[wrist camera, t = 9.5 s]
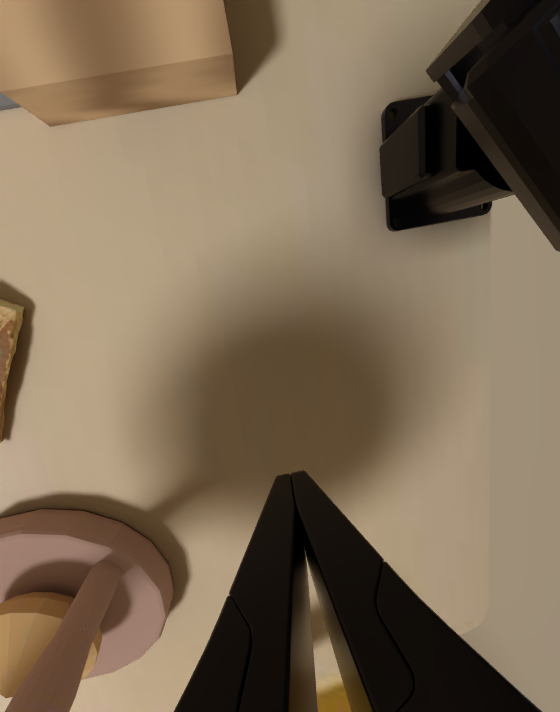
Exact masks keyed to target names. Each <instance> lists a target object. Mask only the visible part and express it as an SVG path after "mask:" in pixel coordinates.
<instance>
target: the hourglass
mask: <svg viewBox="0 0 560 712" xmlns="http://www.w3.org/2000/svg"><path fill="white" fill-rule="evenodd" d="M173 593H174V588H173V584H172V579H171V574H170V569H169V565H168V564H167V562H166V561H165V560H164V558H163V557H162V556H161V554H160V553H159V552H158V550H157V549H156V548H155V546H154V545H153V544H152V542H151V541H150V540H148V539H146V538H145V537H143V536H142V535H140V534H139V533H137V532H136V531H134V530H133V529H131V528H129V527H128V526H126V525H125V524H123V523H122V522H119V521H115V520H112V519H109V518H106V517H102V516H99V515H96V514H93V513H89V512H86V511H77V510H54V509H40V510H35V511H31V512H27V513H22V514H18V515H13V516H9V517H4V518H1V519H0V694H1V695H2V696H4V697H5V698H9V697H13V698H12V700H11V702H10V703H9V705H8V707H7V709H6V711H5V712H69V711H70V708H71V706H72V704H73V701H74V699H75V697H76V693H77V690H78V687H79V684H80V681H81V680H83V679H87V678H91V677H95V676H100V675H104V674H108V673H112V672H115V671H116V670H118V669H120V668H122V667H124V666H126V665H128V664H130V663H132V662H134V661H135V660H137V659H139V658H141V657H142V656H143V655H144V654H145V653H146V651H147V650H148V649H149V648H150V647H151V646H152V645H153V644H154V643H155V642H156V641H157V640H158V639H159V638H160V637H161V634H162V631H163V628H164V625H165V622H166V619H167V616H168V612H169V609H170V605H171V601H172V597H173Z"/></svg>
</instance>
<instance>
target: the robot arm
mask: <svg viewBox="0 0 560 712" xmlns="http://www.w3.org/2000/svg"><path fill="white" fill-rule="evenodd" d="M426 72H427V74H428V75H429V76H430V78H431V79H432V80H433V82H435V81H438V83H439V84H440V85H441V87H442V88H441V89H440V90H439V91H438V92H437V93H436V94H434V95H432V96H426V97H421V98H415V99H409V100H403V101H398V102H392V103H390V104H389V105H388V106H387V107H386V108H385V109H384V111H383V113H382V117H381V122H382V141H383V144H382V145H381V147H380V166H381V184H382V195H383V196H384V197H385V200H386V219H387V227H388V229H389V230H390V231H393V232H395V231H401V230H406V229H411V228H417V227H422V226H427V225H433V224H438V223H444V222H449V221H454V220H460V219H465V218H470V217H476V216H481V215H484V214H487V213H488V212H489V211H490V209H491V206H492V201H494V200H497V199H500V198H504V197H508V196H511V195H516V197H517V198H518V199H519V200H520V202H521V203H522V205H523V206H524V207H525V209H526V210H527V212H528V213H529V214H530V216H531V217H532V218H533V220H534V221H535V222H536V224H537V225H538V226H539V228H540V229H541V230H542V232H543V233H544V235H545V236H546V237H547V239H548V240H549V241H550V243H551V244H552V246H553V247H554V248H555V250H557V251H559V252H560V0H481V1H480V3H479V4H478V5H477V6H476V8H475V9H474V10H473V11H472V13H471V14H470V15H469V16H468V18H467V19H466V20H465V21H464V23H463V24H462V25H461V27H460V28H459V29H458V30H457V32H456V33H455V34H454V35H453V37H452V38H451V39H450V40H449V42H448V43H447V44H446V45H445V47H444V48H443V49H442V51H441V52H440V53H439V54H438V56H437V57H436V58H435V59H434V61H433V62H432V63H431V64H430V66H429V67H428V68H427V70H426ZM389 112H392V113H393V114H394V119H391V118H390V117H389ZM481 204H483V209H482V210H481V209H480V205H481ZM395 219H397V220H398V222H399V223H398V225H397V226H395V225H394V220H395ZM304 547H305V548H304ZM305 552H306V554H305ZM306 557H307V561H308V565H309V569H310V572H311V576H312V579H313V582H314V586H315V589H316V593H317V596H318V599H319V603H320V606H321V609H322V613H323V616H324V620H325V623H326V626H327V630H328V633H329V636H330V640H331V643H332V647H333V650H334V653H335V657H336V660H337V663H338V667H339V670H340V674H341V677H342V680H343V684H344V687H345V690H346V694H347V697H348V701H349V704H350V707H351V711H352V712H542V711H541V710H540V709H538V708H537V707H536V706H535V705H534V704H533V703H532V702H531V701H530V700H529V699H527V698H526V697H525V696H524V695H523V694H522V693H521V692H520V691H519V690H518V689H516V688H515V687H514V686H513V685H512V684H511V683H510V682H509V681H508V680H507V679H506V678H505V677H503V676H502V675H501V674H500V673H499V672H498V671H497V670H496V669H495V668H494V667H493V666H492V665H490V664H489V663H488V662H487V661H486V660H485V659H484V658H483V657H482V656H481V655H480V654H479V653H477V652H476V651H475V650H474V649H473V648H472V647H471V646H470V645H469V644H468V643H467V642H466V641H464V640H463V639H462V638H461V637H460V636H459V635H458V634H457V633H456V632H455V631H454V630H453V629H452V628H450V627H449V626H448V625H447V624H446V623H445V622H444V621H443V620H442V619H441V618H440V617H439V616H438V615H437V614H436V613H435V612H434V611H433V610H432V609H431V608H430V607H428V606H427V605H426V604H425V603H424V602H423V601H422V600H421V599H420V598H419V597H418V596H417V595H416V594H415V592H414V591H413V590H412V589H411V588H410V587H409V586H408V585H407V584H406V583H405V582H404V581H403V580H402V579H401V578H400V577H399V575H398V574H397V573H396V572H395V571H394V570H393V569H392V568H391V567H390V565H389V564H388V563H387V562H384V559H383V558H382V557H381V556H380V554H379V553H378V552H377V551H376V550H375V549H374V548H373V547H372V545H371V544H370V543H369V542H368V541H367V540H366V539H365V538H364V537H363V535H362V534H361V533H360V532H359V531H358V530H357V529H356V528H355V526H354V525H353V524H352V523H351V522H350V521H349V520H348V519H347V517H346V516H345V515H344V514H343V513H342V512H341V511H340V510H339V508H338V507H337V506H336V505H335V504H334V503H333V502H332V501H331V500H330V498H329V497H328V496H327V495H326V494H325V493H324V492H323V491H322V489H321V488H320V487H319V486H318V485H317V484H316V483H315V482H314V480H313V479H312V478H311V477H310V476H309V475H308V474H307V473H306V472H305V471H303V470H302V471H297V472H293V473H291V475H290V474H283V475H278V476H277V477H276V478H275V480H274V483H273V485H272V488H271V490H270V493H269V495H268V498H267V500H266V503H265V505H264V508H263V510H262V512H261V515H260V517H259V520H258V522H257V525H256V527H255V530H254V532H253V535H252V537H251V540H250V542H249V545H248V547H247V550H246V552H245V554H244V557H243V559H242V562H241V564H240V567H239V569H238V572H237V574H236V577H235V579H234V582H233V584H232V587H231V589H230V591H229V595H230V596H228V597H227V598H226V601H225V603H224V606H223V608H222V611H221V613H220V616H219V618H218V620H217V623H216V625H215V627H214V630H213V632H212V634H211V637H210V639H209V641H208V643H207V646H206V648H205V650H204V652H203V654H202V656H201V658H200V660H199V662H198V664H197V666H196V668H195V670H194V673H193V675H192V677H191V679H190V681H189V683H188V685H187V687H186V689H185V691H184V693H183V695H182V696H181V698H180V700H179V702H178V704H177V706H176V708H175V710H174V712H318V708H317V694H316V681H315V667H314V654H313V640H312V626H311V613H310V599H309V586H308V572H307V562H306Z"/></svg>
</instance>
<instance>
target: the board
mask: <svg viewBox="0 0 560 712" xmlns="http://www.w3.org/2000/svg"><path fill="white" fill-rule="evenodd" d="M0 92H1V93H3V94H4V95H6V96H7V97H9V98H10V99H11V100H13V101H14V102H16V103H17V104H19V105H20V106H21V107H23V108H24V109H26V110H27V111H29V112H30V113H32V114H33V115H34V116H36V117H37V118H39V119H40V120H42V121H43V122H44V123H46V124H47V125H49V126H50V127H51V126H56V125H62V124H68V123H74V122H80V121H86V120H92V119H98V118H104V117H109V116H115V115H121V114H127V113H133V112H139V111H145V110H151V109H157V108H162V107H168V106H174V105H180V104H186V103H192V102H198V101H204V100H210V99H215V98H221V97H227V96H233V95H237V90H236V80H235V71H234V61H233V52H232V47H231V41H230V36H229V30H228V24H227V19H226V13H225V8H224V2H223V0H0Z"/></svg>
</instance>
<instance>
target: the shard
mask: <svg viewBox="0 0 560 712" xmlns="http://www.w3.org/2000/svg"><path fill="white" fill-rule="evenodd" d="M24 309H25V308H24V307H23V306H20V305H17V304H13V303H10V302H7V301H4V300H1V299H0V443H1V442H2V438H3V437H2V434H3V428H4V403H5V398H6V394H7V393H6V389H7V387H8V385H7V379H8V375H9V370H10V366H11V361H12V359H13V355H14V354H15V351H16V342H17V339H18V334H19V331H20V328H21V325H22V324H23V316H22V314H23V311H24Z"/></svg>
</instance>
